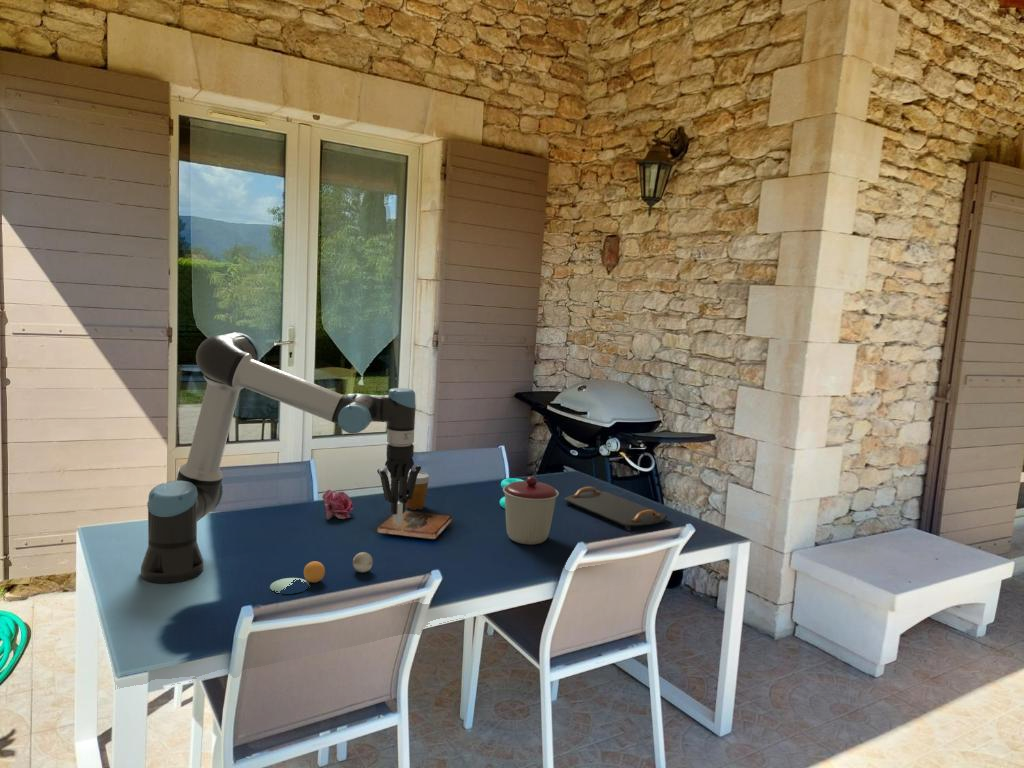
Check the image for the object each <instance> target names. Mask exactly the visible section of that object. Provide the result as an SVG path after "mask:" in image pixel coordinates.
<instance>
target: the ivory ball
mask: <svg viewBox="0 0 1024 768" xmlns="http://www.w3.org/2000/svg"><path fill="white" fill-rule="evenodd" d="M373 560H374V559H373V558H372V555H371V554H369V553H368V552H365V551H362V552H359V553H357V554H355V556H354V557H353V560H352V567H353V569H354V570H355V572H358V573H366V572H369V570H371V568H372V566H373V564H374V563H373V562H374V561H373Z"/></svg>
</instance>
